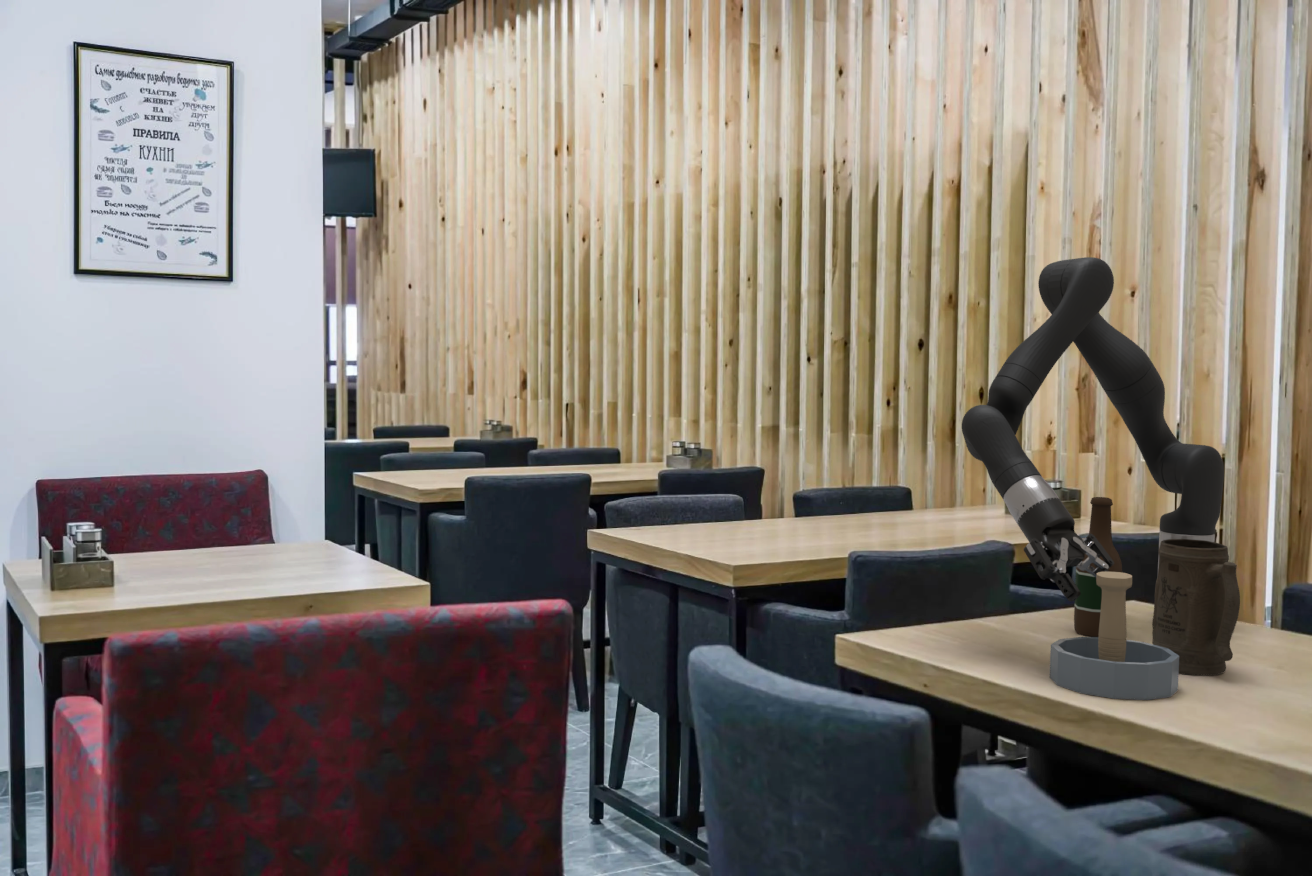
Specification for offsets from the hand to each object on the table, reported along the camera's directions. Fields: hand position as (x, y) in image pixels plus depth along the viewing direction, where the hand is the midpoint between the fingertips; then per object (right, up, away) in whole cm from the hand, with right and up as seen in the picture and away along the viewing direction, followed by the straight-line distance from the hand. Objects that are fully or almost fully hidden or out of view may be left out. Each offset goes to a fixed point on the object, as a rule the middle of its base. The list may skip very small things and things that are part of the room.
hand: (1095, 596), depth 177 cm
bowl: (+2, -12, -3) cm, 13 cm away
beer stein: (+18, -13, +6) cm, 23 cm away
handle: (+1, -12, -3) cm, 12 cm away
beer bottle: (+12, -11, +32) cm, 36 cm away
